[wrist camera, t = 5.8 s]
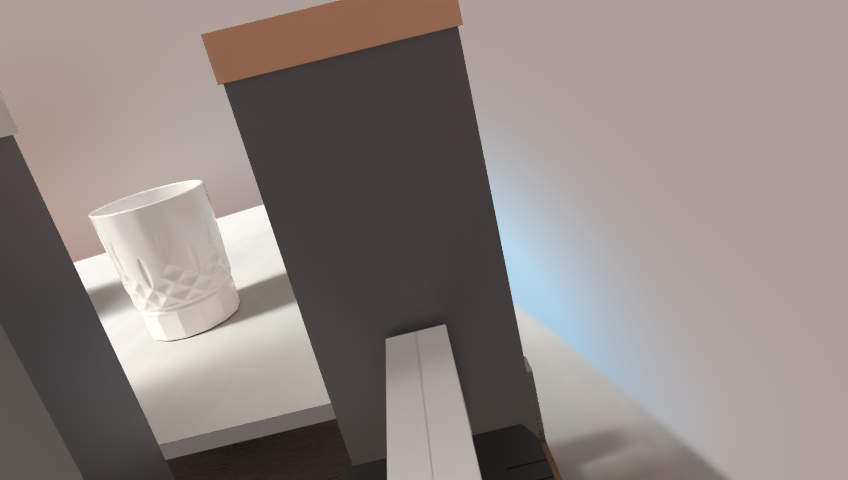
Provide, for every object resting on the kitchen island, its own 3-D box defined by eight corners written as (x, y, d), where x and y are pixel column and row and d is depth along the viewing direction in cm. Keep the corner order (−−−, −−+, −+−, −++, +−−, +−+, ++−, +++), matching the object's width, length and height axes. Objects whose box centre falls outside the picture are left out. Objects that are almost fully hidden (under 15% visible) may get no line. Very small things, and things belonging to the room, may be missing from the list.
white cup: (217, 290, 49) (174, 180, 46) (267, 302, 44) (223, 178, 40) (127, 336, 44) (72, 215, 41) (171, 355, 38) (112, 218, 35)
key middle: (227, 742, 13) (-120, 89, 8) (10, 794, 13) (-463, 175, 8) (251, 633, 16) (-5, 81, 11) (68, 677, 16) (-270, 146, 11)
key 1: (562, 535, 16) (452, -28, 11) (386, 578, 16) (201, 34, 11) (539, 471, 19) (439, -14, 14) (385, 508, 19) (232, 37, 14)
